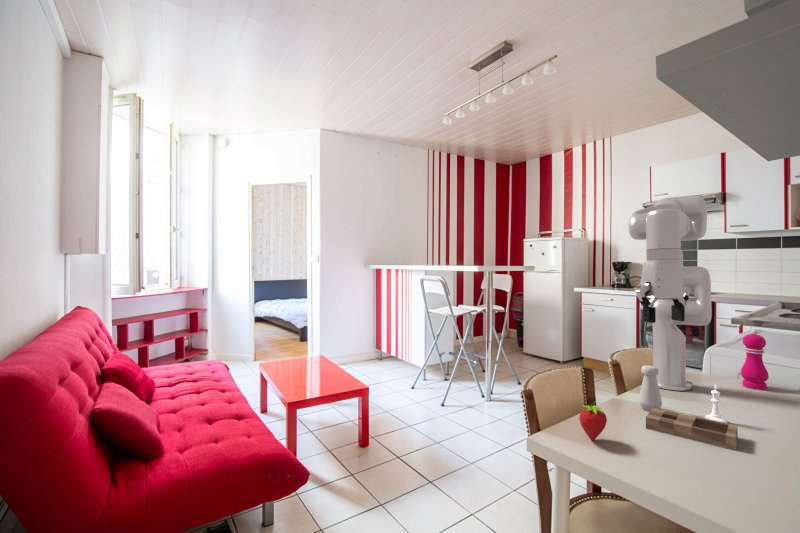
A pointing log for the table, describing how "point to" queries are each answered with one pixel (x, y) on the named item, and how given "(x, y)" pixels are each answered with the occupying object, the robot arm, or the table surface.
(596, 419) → the strawberry
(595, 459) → the table surface
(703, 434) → the socket plate
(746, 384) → the pepper mill
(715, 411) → the chess piece
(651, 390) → the salt shaker
